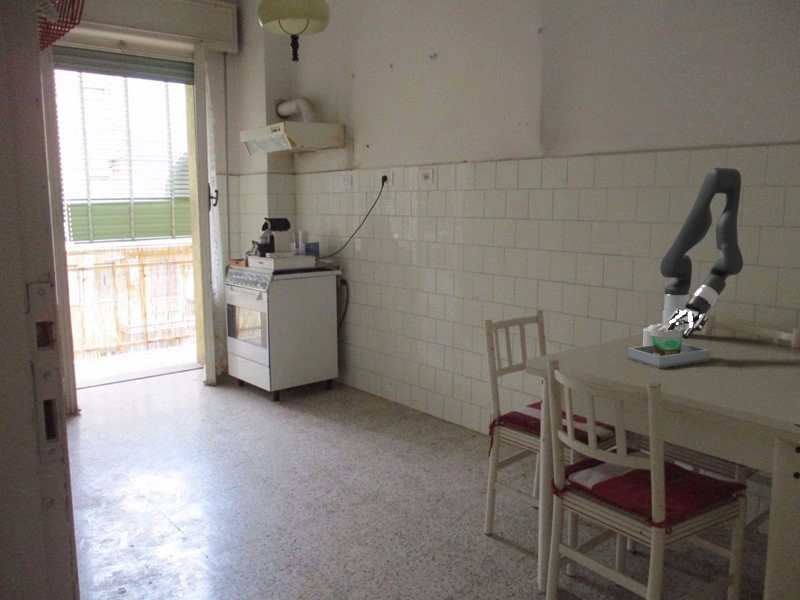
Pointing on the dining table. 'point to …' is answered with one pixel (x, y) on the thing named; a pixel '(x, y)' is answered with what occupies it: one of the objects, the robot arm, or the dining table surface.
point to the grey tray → (669, 356)
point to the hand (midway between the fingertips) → (675, 335)
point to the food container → (667, 342)
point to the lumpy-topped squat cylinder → (647, 333)
